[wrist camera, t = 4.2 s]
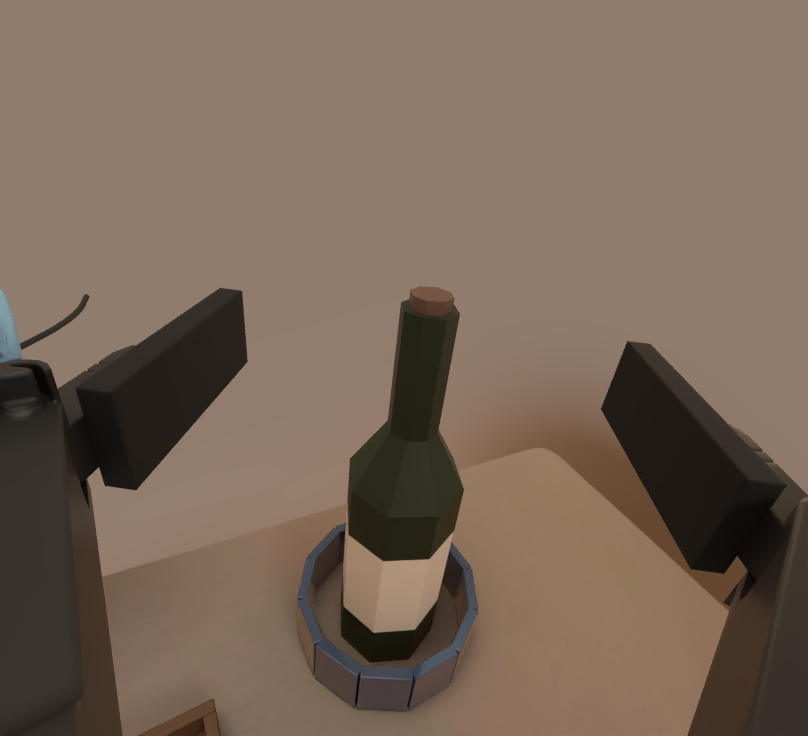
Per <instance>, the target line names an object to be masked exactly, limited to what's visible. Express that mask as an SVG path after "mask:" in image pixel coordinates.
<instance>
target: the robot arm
mask: <svg viewBox="0 0 808 736" xmlns="http://www.w3.org/2000/svg"><path fill="white" fill-rule="evenodd" d="M88 299H89V296H88V295H87V294H86V295H84V296H83V299H82V301H81V303H80V304H79V306H78V307H77V308H76V309H75V310H74V311H73V313H71V314H70V315H69V316H68V317H66V318H65V319H63V320H62V321H61V322H59V323H58V324H56V325H54V326H53V327H51V328H49V329H47V330H46V331H44V332H42V333H40V334H38V335H36V336H34V337H32V338H30V339H28V340H26V341H24V342H22V343H19V338H18V334H17V330H16V326H15V322H14V319H13V315H12V311H11V309H10V305H9V301H8V299H7V297H6V295H5V293H4V291H3V290H2V289H0V736H122V729H121V721H120V713H119V705H118V698H117V690H116V682H115V675H114V667H113V659H112V651H111V644H110V636H109V628H108V621H107V613H106V605H105V597H104V590H103V582H102V575H101V567H100V559H99V551H98V544H97V536H96V528H95V520H94V513H93V505H92V497H91V490H90V486H89V483H88V481H87V478H88V477H89V476H90V475H91V474H92V473H93V472H94V471H95V470H96V469H97V468H98V467H99V468H100V471H101V474H102V478H103V481H104V484H105V486H111V487H118V488H125V489H132V490H137V489H138V487H139V486H140V485H141V484H142V483H143V481H145V479H146V478H147V477H148V476H149V475H150V474H151V472H152V471H153V470H154V469H155V468H156V467H157V465H158V464H159V463H160V462H161V461H162V460H163V459H164V458H165V456H166V455H167V454H168V453H169V452H170V451H171V449H172V448H173V447H174V446H175V445H176V444H177V443H178V441H179V440H180V439H181V438H182V437H183V436H184V434H185V433H186V432H187V431H188V430H189V429H190V428H191V426H192V425H193V424H194V423H195V422H196V421H197V419H198V418H199V417H200V416H201V415H202V413H203V412H204V411H205V410H206V409H207V408H208V407H209V406H210V404H211V403H212V402H213V401H214V400H215V399H216V397H217V396H218V395H219V394H220V393H221V392H222V391H223V389H224V388H225V387H226V386H227V385H228V384H229V382H230V381H231V380H232V379H233V378H234V377H235V376H236V374H237V373H238V372H239V371H240V370H241V369H242V368H243V366H244V365H245V364H246V363H247V348H246V336H245V324H244V310H243V298H242V291H239V290H231V289H224V288H219V289H218V290H217V291H215V292H214V293H212V294H211V295H209V296H208V297H206V298H205V299H203V300H202V301H200V302H199V303H198V304H196V305H195V306H193V307H192V308H190V309H189V310H187V311H186V312H184V313H183V314H181V315H180V316H179V317H177V318H176V319H174V320H173V321H171V322H170V323H169V324H167V325H165V326H164V327H163V328H161V329H160V330H158V331H157V332H155V333H154V334H152V335H151V336H149V337H148V338H147V339H145V340H144V341H142V342H141V343H139V344H138V345H136V346H134V345H132V346H129V347H126V348H124V349H121V350H118V351H116V352H113V353H111V354H110V355H109V356H107V357H105V358H104V359H103V360H101V361H99V364H95V365H93V366H92V367H90V368H89V369H88V371H84V372H83V373H81V374H80V375H78V376H77V377H75V378H74V379H72V380H71V381H69V382H67V383H66V384H65V385H63V386H62V387H60V388H58V389H57V386H56V383H55V380H54V377H53V374H52V371H51V368H50V367H49V365H48V364H47V363H45V362H42V361H39V360H22V354H21V350H22V349H24V348H26V347H28V346H30V345H32V344H34V343H35V342H37V341H39V340H41V339H43V338H45V337H47V336H49V335H50V334H52V333H54V332H56V331H57V330H59V329H60V328H62V327H63V326H65V325H66V324H68V323H69V322H70V321H72V320H73V319H74V318H75V317H76V316H78V315H79V314H80V313H81V312H82V310H83V309H84V307H85V305H86V303H87V301H88ZM601 410H602V412H603V414H604V415H605V417H606V419H607V421H608V423H609V424H610V426H611V428H612V429H613V432H614V433H615V435H616V437H617V439H618V440H619V442H620V444H621V446H622V448H623V449H624V451H625V453H626V455H627V456H628V458H629V460H630V462H631V464H632V465H633V467H634V469H635V471H636V473H637V474H638V476H639V478H640V479H641V481H642V483H643V485H644V487H645V489H646V490H647V492H648V493H649V496H650V497H651V499H652V501H653V503H654V505H655V506H656V508H657V510H658V512H659V513H660V515H661V517H662V519H663V521H664V522H665V524H666V526H667V527H668V529H669V531H670V533H671V535H672V536H673V538H674V540H675V542H676V544H677V545H678V547H679V549H680V551H681V553H682V554H683V556H684V558H685V560H686V562H687V563H688V565H689V567H690V569H694V570H701V571H708V572H715V573H722V574H724V573H725V572H726V570H727V569H728V568H729V566H730V565H731V563H732V562H733V561H734V559H735V558H736V556H738V557H739V558H740V560H741V561H742V563H743V564H744V566H745V567H746V569H747V570H748V571H747V572H746V573H745V575H744V576H743V577H742V579H741V580H740V581H739V583H738V584H737V585H736V587H735V588H734V589H733V591H732V592H731V594H730V595H729V596H728V597H727V599H726V600H725V601H724V603H725V604H727V605H728V606H730V605H731V604H732V605H731V608H730V611H729V614H728V617H727V620H726V623H725V626H724V629H723V632H722V635H721V638H720V641H719V644H718V646H717V649H716V652H715V655H714V658H713V661H712V664H711V667H710V670H709V673H708V676H707V679H706V682H705V685H704V688H703V691H702V694H701V697H700V700H699V703H698V706H697V709H696V712H695V715H694V718H693V721H692V724H691V727H690V730H689V733H688V736H808V495H807V494H806V493H805V492H804V491H803V490H802V489H801V488H800V487H799V486H798V485H797V484H796V483H795V482H794V481H793V480H792V479H791V478H790V477H789V476H788V475H787V474H786V473H785V472H784V471H783V470H782V469H781V468H780V467H779V466H778V465H777V464H774V463H773V460H772V459H771V458H770V457H769V456H768V455H767V454H766V453H764V452H762V449H761V448H760V447H759V446H758V445H757V444H756V443H755V442H754V441H753V440H752V439H751V438H750V437H749V436H747V435H746V434H744V433H743V432H741V431H740V430H738V429H737V428H735V427H734V426H732V425H731V424H727V423H726V422H725V420H724V419H723V418H722V417H721V416H720V415H719V414H718V413H717V412H716V411H715V410H714V409H713V408H712V407H711V406H710V405H709V404H708V403H707V402H706V401H705V400H704V399H703V398H702V397H701V396H700V395H699V394H698V393H697V392H696V391H695V390H694V389H693V387H691V385H690V384H689V383H687V381H686V380H685V379H684V378H683V377H682V376H681V375H680V374H679V373H678V372H677V371H676V370H675V369H674V368H673V367H672V366H671V365H670V364H669V363H668V362H667V361H666V360H665V359H664V358H663V357H662V356H661V354H660V353H658V351H656V349H655V348H654V347H653V346H652V345H651V344H646V343H638V342H630V341H627V344H626V346H625V349H624V351H623V354H622V357H621V359H620V362H619V364H618V367H617V369H616V372H615V374H614V377H613V379H612V382H611V385H610V387H609V390H608V392H607V395H606V397H605V400H604V403H603V405H602V408H601Z"/></svg>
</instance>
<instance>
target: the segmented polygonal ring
mask: <svg viewBox="0 0 808 736" xmlns="http://www.w3.org/2000/svg"><path fill="white" fill-rule="evenodd" d="M345 531H346V523H344V524H341V525H339V526H336V529H335V528H333V529H332V530H331V531H330V532H329V534H328V535H327V536H326V537H325V538H324V539H323V540H322V541H321V542H320V543H319V544H318V545H317V546H316V547H315V548H314V550H313V551H312V552H311V553H310V554H309V555H308V558H306V562H305V566H304V571H303V575H302V580H301V584H300V589H299V593H298V633H299V636H300V639H301V642H302V645H303V648H304V651H305V653H306V656H307V659H308V662H309V665H310V668H311V670H312V673H313V675H315V678H316V679H317V680H318V681H319V682H321V683H322V684H323V685H325V686H326V687H327V688H329V689H330V690H331V691H332V692H334V693H335V694H336V695H338V696H339V697H340V698H342V699H343V700H344V701H345V702H347V703H348V704H349V705H351V706H352V707H353V708H354V707H355V705H356V704H357V709H368V710H388V711H406V709H407V708H408V710H411V709H412V708H414V707H416V706H417V705H419V704H420V703H422V702H423V701H425V700H427V699H428V698H430V697H431V696H433V695H434V694H436V693H438V692H439V691H441V690H442V689H444V688H445V687H447V686H448V685H449V683H451V681H452V679H453V677H454V674H455V672H456V670H457V667H458V665H459V663H460V660H461V658H462V656H463V654H464V651H465V649H466V647H467V644H468V642H469V639H470V635H471V632H472V629H473V626H474V623H475V620H476V617H477V613H478V612H477V611H478V605H477V599H476V592H475V586H474V580H473V573H472V569H470V568H471V566H470V565H469V564H468V562H467V561H466V560H465V558H464V557H463V556H462V555H461V553H460V552H459V551H458V549H457V548H456V547H455V545H454V544H453V543H452V541H451V545H450V549H449V554H448V558H447V562H446V566H445V570H444V574H443V579H442V582H443V583H444V584H445V586H446V587H447V589H448V590H449V592H450V593H451V595H452V596H453V598H454V599H455V603H456V612H457V621H458V631H457V633H456V635H455V638H454V640H453V642H452V644H451V645H450V646H449V647H447V648H445V649H444V650H442V651H440V652H438V653H437V654H435V655H433V656H432V657H430V658H428V659H426V660H425V661H423V662H421V663H420V664H418V665H416V666H414V667H413V668H395V667H377V666H362V665H361V664H360V663H358V662H357V661H355V660H354V659H353V658H351V657H350V656H348V655H347V654H346V653H344V652H343V651H341V650H340V649H339V648H337V647H336V646H334V645H333V644H332V643H330V642H329V641H327V640H326V639H325V638H323V635H322V633H321V630H320V628H319V625H318V623H317V620H316V617H315V615H314V612H313V610H312V604H313V599H314V593H315V590H316V589H317V588H318V586H319V585H320V584H321V583H322V582H323V581H324V579H325V578H326V577H327V576H328V575H329V573H330V572H331V571H332V570H333V569H334V568H335V566H336V565H337V564H338V563H340V562H342V561H344V547H345Z"/></svg>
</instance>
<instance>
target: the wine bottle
mask: <svg viewBox="0 0 808 736" xmlns="http://www.w3.org/2000/svg"><path fill="white" fill-rule="evenodd" d="M453 303H454V297H453V295H452V294H451V293H450V292H448V291H445V290H442V289H439V288H436V287H421V286H420V287H417V288H414V289H412V290H410V299H409V300H406V301H403V302H401V309H400V318H399V327H398V336H397V345H396V354H395V362H394V371H393V380H392V381H393V382H392V390H391V398H390V407H389V416H388V421H387V422H386V423H385V424H384V425H383V426H382V427H381V428H380V429H379V430H378V431H377V432H376V433H375V434H374V435H373V436H372V437H371V438H370V439H369V440H368V441H367V442H366V443H365V444H364V445H363V446H362V447H361V448H360V449H359V450H358V451H357V453H356V454H354V455H353V456H352V457H351V458H350V469H349V485H348V500H347V516H346V531H345V547H344V563H343V578H342V594H341V636H342V637H343V638H344V639H345V640H346V641H348V642H349V643H350V644H351V645H352V646H353V647H354V648H355V649H356V650H357V651H358V652H359V653H360V654H361V655H363V656H364V657H365V658H366V659H367V660H368V661H369V662H379V661H391V660H403V659H409V658H410V656H411V655H412V654H413V652H414V651H415V650H416V648H417V647H418V645H419V644H420V643H421V641H422V640H423V639H424V637H425V636H426V635H427V633H428V632H429V630H430V629H431V625H432V620H433V616H434V612H435V608H436V604H437V600H438V595H439V591H440V587H441V583H442V579H443V574H444V570H445V566H446V562H447V558H448V554H449V549H450V545H451V541H452V537H453V533H454V529H455V524H456V520H457V516H458V512H459V508H460V504H461V499H462V495H463V491H464V488H463V486H462V483H461V480H460V477H459V474H458V471H457V468H456V465H455V462H454V459H453V457H452V455H451V453H450V451H449V449H448V447H447V445H446V444H445V441H444V439H443V437H442V435H441V434H440V431H439V430H438V429H439V424H440V418H441V412H442V408H443V402H444V397H445V391H446V386H447V380H448V375H449V369H450V364H451V358H452V353H453V348H454V342H455V337H456V332H457V326H458V320H459V315H460V313H459V312H458V310H457V309H456V307H455V305H453Z"/></svg>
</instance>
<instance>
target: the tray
mask: <svg viewBox="0 0 808 736" xmlns="http://www.w3.org/2000/svg"><path fill="white" fill-rule="evenodd" d="M139 736H220V730H219V724H218V719H217V713H216V709H215V704H214V700H213V699H211V700H209V701H207V702H205V703H203V704H201V705H199V706H197V707H195V708H193V709H191V710H189V711H187V712H185V713H183V714H181V715H179V716H177V717H175V718H173V719H171V720H169V721H167V722H165V723H163V724H161V725H159V726H157V727H155V728H153V729H151V730H149V731H147V732H145V733H143V734H141V735H139Z"/></svg>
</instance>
